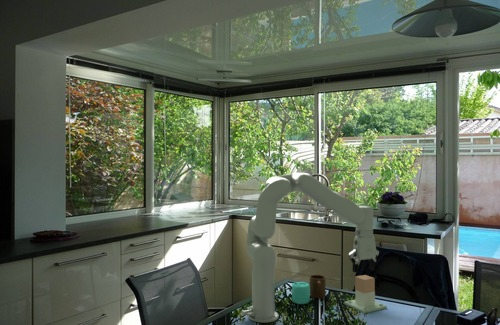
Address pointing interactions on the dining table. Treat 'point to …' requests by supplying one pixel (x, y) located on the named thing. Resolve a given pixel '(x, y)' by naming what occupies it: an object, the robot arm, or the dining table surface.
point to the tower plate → (365, 309)
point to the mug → (317, 286)
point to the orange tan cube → (365, 284)
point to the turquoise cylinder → (300, 293)
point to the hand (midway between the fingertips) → (363, 271)
